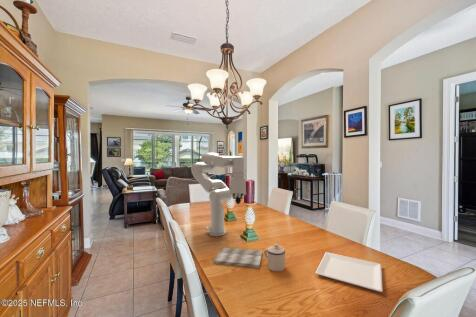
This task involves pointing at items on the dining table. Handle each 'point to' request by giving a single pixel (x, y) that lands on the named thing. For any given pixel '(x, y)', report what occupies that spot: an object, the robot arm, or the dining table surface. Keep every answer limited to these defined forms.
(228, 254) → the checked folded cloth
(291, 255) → the dining table surface
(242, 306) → the dining table surface
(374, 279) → the plate
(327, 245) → the dining table surface
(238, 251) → the folded checkered cloth
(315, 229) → the dining table surface
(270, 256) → the teacup with lid
